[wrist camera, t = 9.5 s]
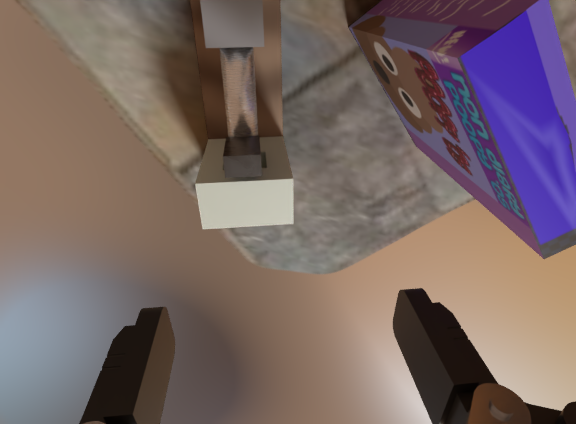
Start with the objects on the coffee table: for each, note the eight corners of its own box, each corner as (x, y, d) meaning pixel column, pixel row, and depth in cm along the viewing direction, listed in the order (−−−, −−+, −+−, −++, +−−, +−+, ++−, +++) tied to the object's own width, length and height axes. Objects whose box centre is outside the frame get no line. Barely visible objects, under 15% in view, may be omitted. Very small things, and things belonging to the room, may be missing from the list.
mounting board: (181, -77, 33) (156, -105, 24) (278, -77, 34) (288, -104, 25) (215, 184, 47) (207, 227, 38) (283, 180, 48) (290, 222, 39)
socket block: (208, 139, 43) (195, 183, 32) (282, 136, 43) (293, 178, 33) (213, 177, 45) (202, 229, 35) (283, 173, 46) (293, 223, 36)
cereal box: (348, 27, 39) (459, 58, 18) (386, -4, 38) (550, -6, 17) (416, 146, 47) (545, 260, 26) (448, 124, 46) (611, 226, 25)
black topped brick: (216, 17, 31) (207, 22, 25) (252, 16, 32) (253, 21, 25) (232, 180, 40) (229, 216, 33) (261, 178, 40) (264, 214, 33)
